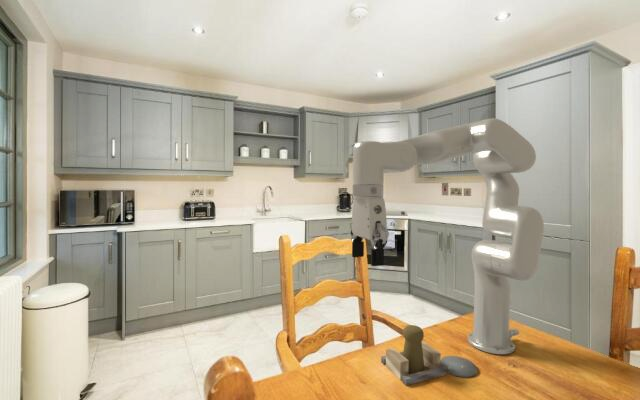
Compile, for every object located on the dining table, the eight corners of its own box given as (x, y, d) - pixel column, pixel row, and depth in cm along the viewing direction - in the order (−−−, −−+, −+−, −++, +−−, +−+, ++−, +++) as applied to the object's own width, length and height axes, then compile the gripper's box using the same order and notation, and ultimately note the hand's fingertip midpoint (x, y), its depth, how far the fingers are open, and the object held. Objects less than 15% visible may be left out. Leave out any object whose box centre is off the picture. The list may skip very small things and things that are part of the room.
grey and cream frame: (418, 353, 91) (418, 338, 91) (446, 374, 81) (446, 357, 81) (381, 361, 87) (381, 345, 87) (405, 385, 77) (406, 367, 76)
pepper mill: (426, 376, 80) (426, 333, 80) (401, 373, 82) (402, 331, 81) (423, 363, 86) (424, 323, 86) (400, 360, 87) (400, 321, 87)
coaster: (458, 355, 90) (458, 353, 90) (485, 372, 82) (485, 370, 82) (432, 361, 87) (432, 359, 87) (458, 380, 79) (458, 378, 78)
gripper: (401, 193, 72) (400, 268, 73) (364, 191, 88) (363, 253, 89) (372, 193, 69) (371, 271, 70) (339, 191, 85) (339, 255, 86)
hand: (367, 260), depth 80 cm, fingers open, 9 cm apart
